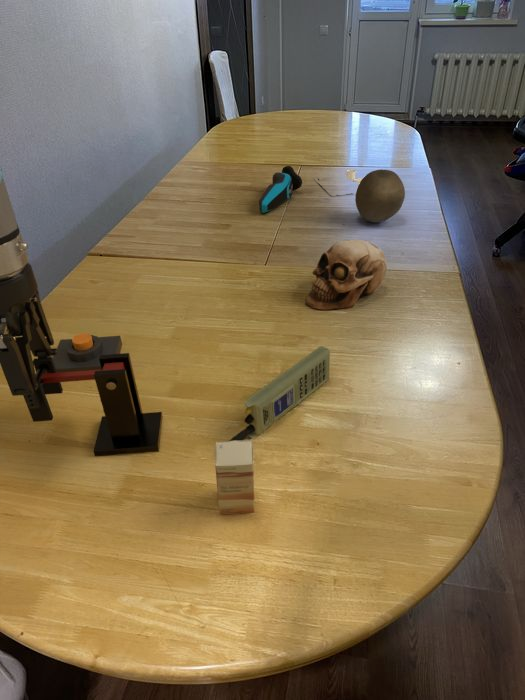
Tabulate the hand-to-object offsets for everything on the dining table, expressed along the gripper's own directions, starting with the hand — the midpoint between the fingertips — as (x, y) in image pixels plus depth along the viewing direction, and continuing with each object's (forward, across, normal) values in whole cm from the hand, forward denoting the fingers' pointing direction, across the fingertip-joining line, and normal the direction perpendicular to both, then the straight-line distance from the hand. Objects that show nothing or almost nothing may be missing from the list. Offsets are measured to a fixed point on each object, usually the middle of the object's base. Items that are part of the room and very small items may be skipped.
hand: (48, 405), depth 79 cm
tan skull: (+8, +41, -55) cm, 69 cm away
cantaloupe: (+8, +83, -74) cm, 111 cm away
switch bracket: (+8, 0, -11) cm, 13 cm away
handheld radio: (+8, +3, -36) cm, 37 cm away
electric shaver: (+8, +105, -46) cm, 115 cm away
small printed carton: (+8, -15, -28) cm, 33 cm away
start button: (+4, +22, 0) cm, 22 cm away
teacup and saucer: (+8, +118, -73) cm, 139 cm away
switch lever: (-4, 0, -6) cm, 7 cm away
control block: (+8, +22, 0) cm, 23 cm away
